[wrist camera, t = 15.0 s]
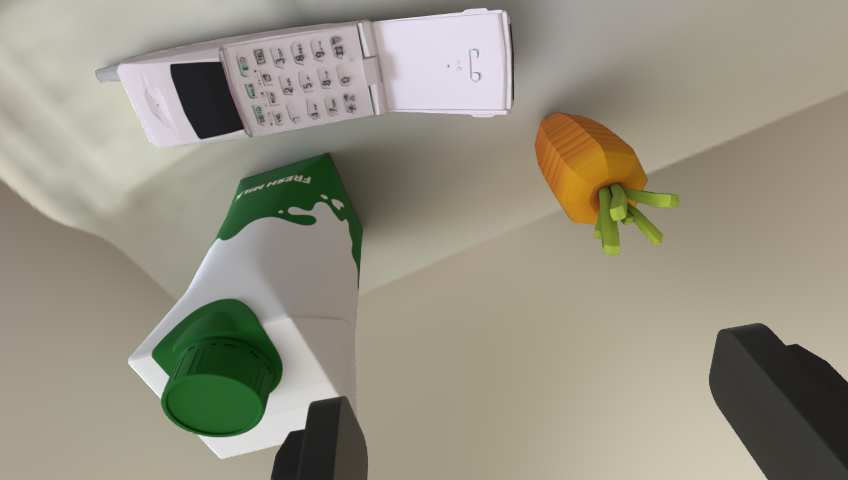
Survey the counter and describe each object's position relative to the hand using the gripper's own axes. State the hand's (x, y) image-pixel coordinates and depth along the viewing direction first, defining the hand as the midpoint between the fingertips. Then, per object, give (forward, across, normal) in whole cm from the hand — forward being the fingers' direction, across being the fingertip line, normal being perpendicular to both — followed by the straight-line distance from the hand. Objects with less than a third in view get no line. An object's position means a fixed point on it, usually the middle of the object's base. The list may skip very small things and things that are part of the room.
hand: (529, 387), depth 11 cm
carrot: (+26, -7, +5) cm, 28 cm away
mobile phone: (+26, +8, -2) cm, 28 cm away
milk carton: (+26, +12, +8) cm, 30 cm away
